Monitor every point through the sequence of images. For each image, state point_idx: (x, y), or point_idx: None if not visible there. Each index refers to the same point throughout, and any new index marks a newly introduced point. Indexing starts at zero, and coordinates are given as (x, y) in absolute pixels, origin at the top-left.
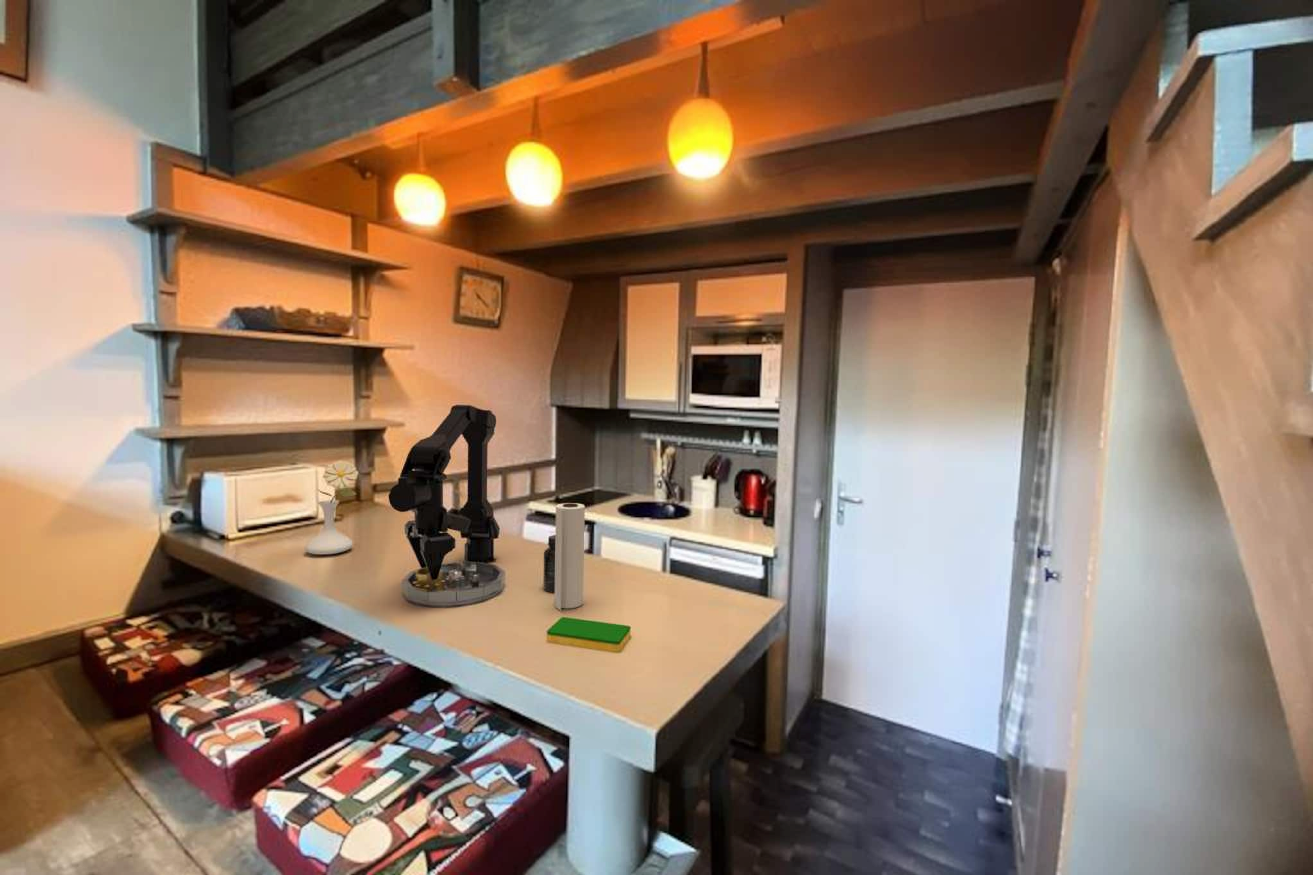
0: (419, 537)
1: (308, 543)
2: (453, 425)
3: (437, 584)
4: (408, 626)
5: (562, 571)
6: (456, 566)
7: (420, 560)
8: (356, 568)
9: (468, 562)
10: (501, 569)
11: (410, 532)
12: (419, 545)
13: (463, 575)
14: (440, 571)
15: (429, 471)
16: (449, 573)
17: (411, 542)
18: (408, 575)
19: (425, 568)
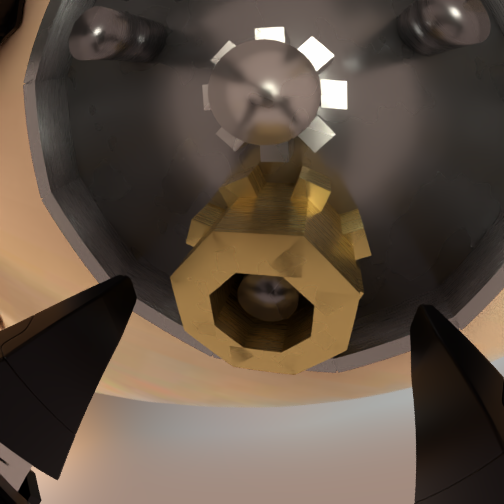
0: (15, 451)
1: None
2: None
3: (359, 246)
4: (498, 351)
5: None
6: (52, 68)
7: (113, 338)
8: (25, 306)
9: (52, 10)
10: None
11: (30, 495)
12: (48, 413)
13: (159, 28)
14: (326, 257)
15: None
16: (274, 144)
17: (64, 457)
18: (152, 318)
19: (188, 312)
